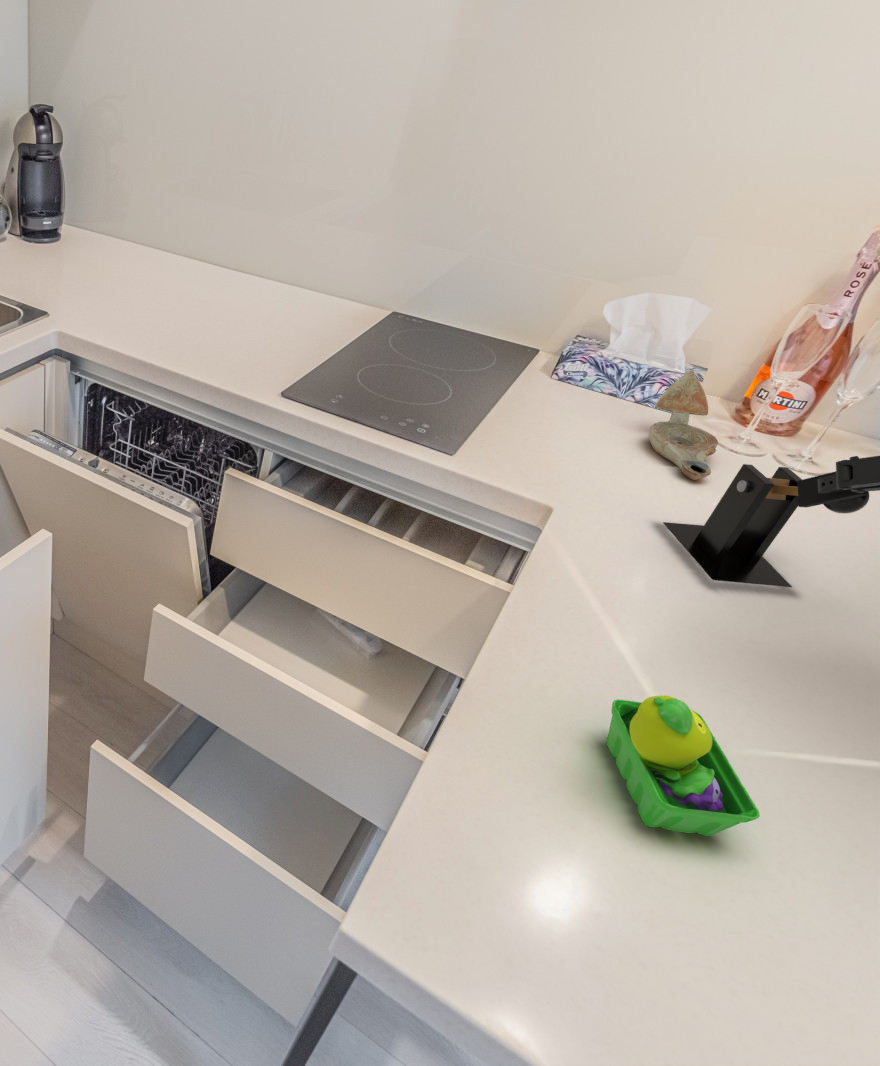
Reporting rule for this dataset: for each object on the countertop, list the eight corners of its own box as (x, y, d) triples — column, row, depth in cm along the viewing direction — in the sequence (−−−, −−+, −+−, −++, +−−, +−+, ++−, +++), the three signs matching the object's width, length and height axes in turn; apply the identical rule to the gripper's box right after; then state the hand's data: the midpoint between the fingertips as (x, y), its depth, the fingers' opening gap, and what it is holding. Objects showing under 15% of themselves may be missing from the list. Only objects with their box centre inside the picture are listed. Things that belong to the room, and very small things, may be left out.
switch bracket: (786, 595, 91) (854, 507, 83) (707, 587, 92) (767, 500, 84) (729, 535, 100) (785, 452, 93) (658, 529, 101) (708, 446, 93)
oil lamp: (691, 432, 124) (723, 375, 118) (723, 498, 108) (763, 436, 102) (631, 421, 126) (659, 365, 120) (654, 484, 110) (688, 423, 104)
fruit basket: (732, 855, 63) (813, 772, 57) (618, 836, 64) (685, 753, 58) (671, 745, 72) (735, 662, 66) (572, 730, 73) (625, 648, 67)
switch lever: (875, 516, 78) (883, 482, 77) (837, 513, 78) (845, 479, 78) (771, 503, 91) (777, 473, 90) (739, 500, 91) (746, 470, 91)
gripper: (975, 479, 56) (743, 525, 77) (1353, 508, 54) (1010, 547, 75) (968, 382, 57) (741, 453, 78) (1339, 407, 55) (1004, 473, 76)
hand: (873, 499), depth 76 cm, fingers open, 13 cm apart
